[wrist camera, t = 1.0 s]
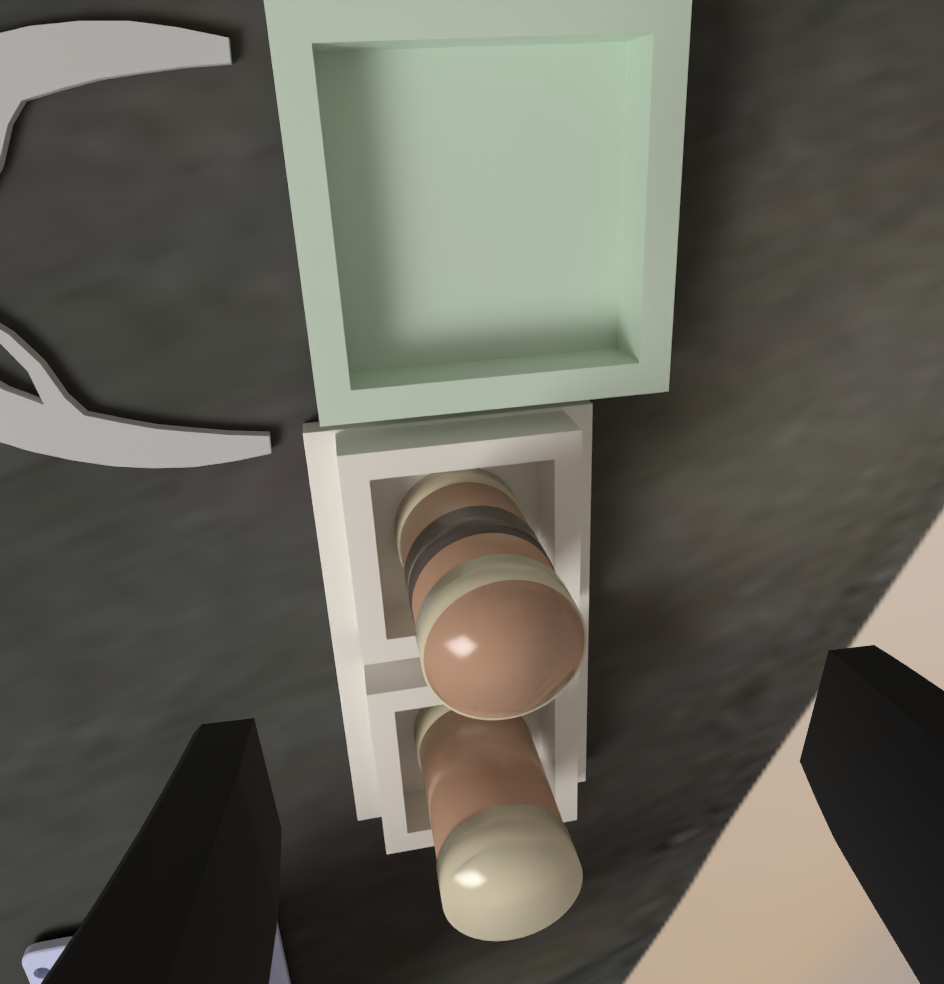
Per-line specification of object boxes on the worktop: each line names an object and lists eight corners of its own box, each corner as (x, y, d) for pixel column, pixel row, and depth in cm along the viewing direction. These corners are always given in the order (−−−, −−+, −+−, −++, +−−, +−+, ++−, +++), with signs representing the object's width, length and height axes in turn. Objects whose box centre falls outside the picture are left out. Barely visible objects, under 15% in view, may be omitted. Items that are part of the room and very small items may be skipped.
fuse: (525, 760, 25) (581, 925, 20) (418, 777, 25) (446, 952, 20) (523, 671, 24) (583, 824, 19) (409, 689, 23) (437, 851, 18)
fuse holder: (578, 764, 27) (601, 817, 25) (356, 802, 26) (360, 861, 24) (583, 395, 22) (613, 423, 19) (303, 423, 20) (301, 456, 18)
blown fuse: (521, 572, 23) (585, 706, 17) (399, 588, 22) (427, 731, 17) (518, 459, 21) (588, 566, 16) (388, 473, 21) (414, 590, 15)
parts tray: (636, 368, 22) (668, 391, 20) (319, 399, 20) (320, 426, 18) (651, 3, 18) (693, -15, 16) (269, 13, 17) (263, -4, 15)
